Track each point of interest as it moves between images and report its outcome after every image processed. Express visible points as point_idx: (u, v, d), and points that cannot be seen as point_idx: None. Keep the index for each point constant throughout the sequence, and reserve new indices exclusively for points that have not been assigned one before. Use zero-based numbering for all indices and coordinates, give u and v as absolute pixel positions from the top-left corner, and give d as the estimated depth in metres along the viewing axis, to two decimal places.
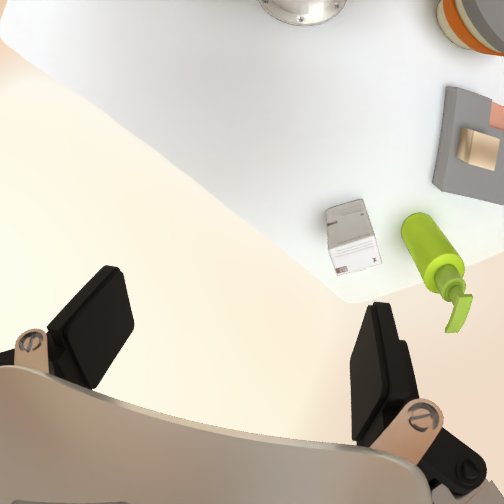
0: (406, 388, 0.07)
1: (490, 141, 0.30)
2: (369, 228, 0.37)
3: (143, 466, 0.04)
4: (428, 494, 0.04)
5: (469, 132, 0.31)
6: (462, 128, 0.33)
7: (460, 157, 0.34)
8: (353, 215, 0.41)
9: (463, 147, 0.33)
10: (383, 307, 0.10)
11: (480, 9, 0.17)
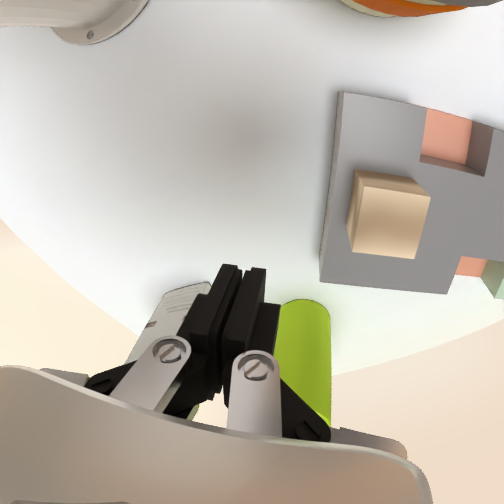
0: (243, 337, 0.08)
1: (406, 203, 0.18)
2: None
3: (143, 466, 0.04)
4: (428, 494, 0.04)
5: (360, 186, 0.19)
6: (355, 173, 0.21)
7: (348, 230, 0.22)
8: (175, 316, 0.29)
9: (352, 213, 0.21)
10: (257, 271, 0.11)
11: None
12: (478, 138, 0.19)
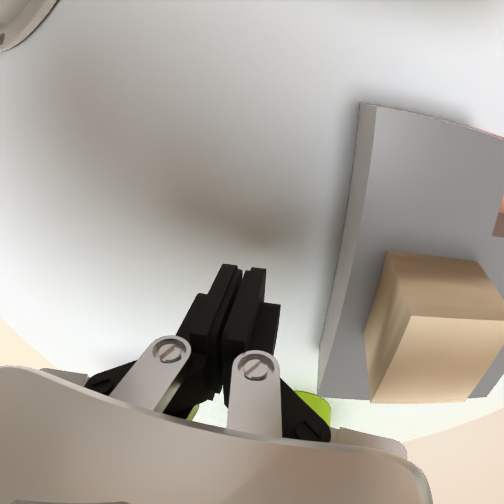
0: (243, 337, 0.08)
1: (478, 335, 0.08)
2: None
3: (143, 466, 0.04)
4: (428, 494, 0.04)
5: (400, 301, 0.09)
6: (388, 260, 0.11)
7: (367, 349, 0.13)
8: None
9: (377, 330, 0.12)
10: (257, 271, 0.11)
11: None
12: None
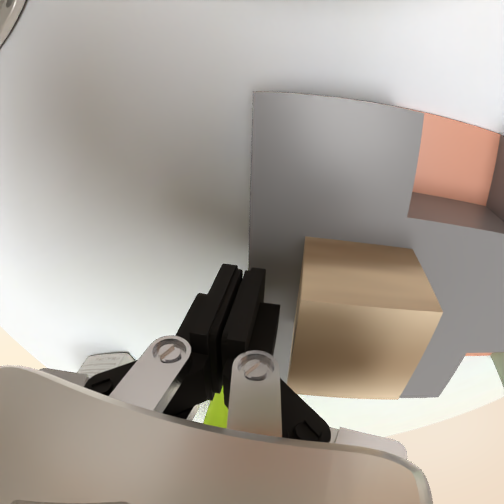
0: (242, 337, 0.08)
1: (392, 326, 0.09)
2: None
3: (143, 466, 0.04)
4: (428, 494, 0.04)
5: (301, 286, 0.10)
6: (304, 247, 0.12)
7: (292, 338, 0.13)
8: None
9: None
10: (256, 271, 0.11)
11: None
12: None
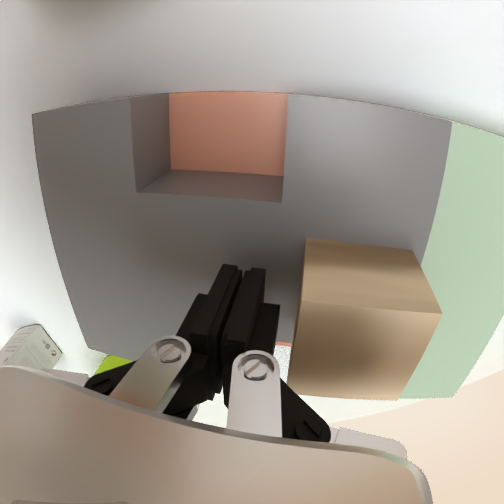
0: (242, 337, 0.08)
1: (392, 327, 0.09)
2: None
3: (143, 466, 0.04)
4: (428, 494, 0.04)
5: (302, 287, 0.10)
6: (305, 247, 0.12)
7: (292, 339, 0.13)
8: (3, 357, 0.22)
9: None
10: (256, 271, 0.11)
11: None
12: None
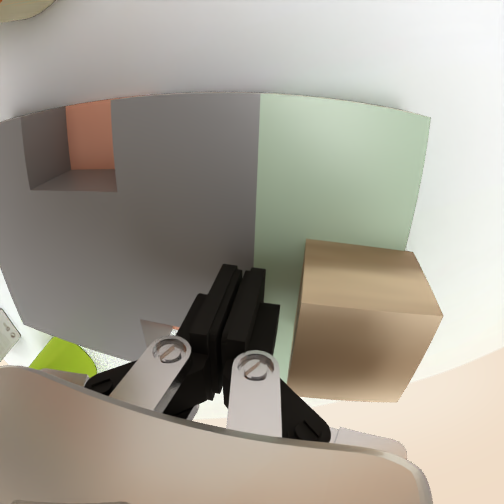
0: (242, 337, 0.08)
1: (392, 329, 0.09)
2: None
3: (143, 466, 0.04)
4: (428, 494, 0.04)
5: (301, 289, 0.10)
6: (305, 249, 0.12)
7: (292, 340, 0.13)
8: None
9: None
10: (256, 271, 0.11)
11: None
12: None
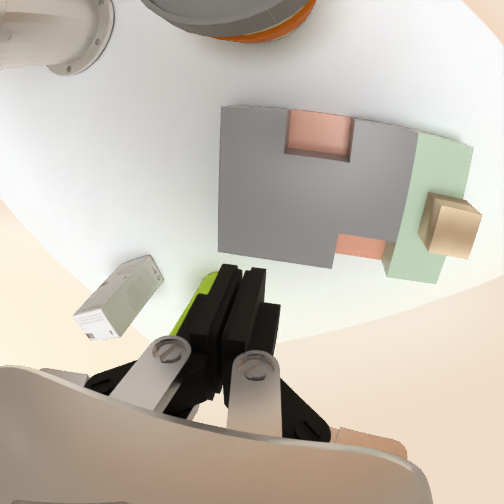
0: (243, 337, 0.08)
1: (466, 218, 0.23)
2: (108, 298, 0.33)
3: (143, 466, 0.04)
4: (428, 494, 0.04)
5: (436, 204, 0.24)
6: (428, 195, 0.26)
7: (421, 236, 0.27)
8: (120, 277, 0.37)
9: (426, 224, 0.26)
10: (257, 271, 0.11)
11: None
12: (351, 131, 0.27)
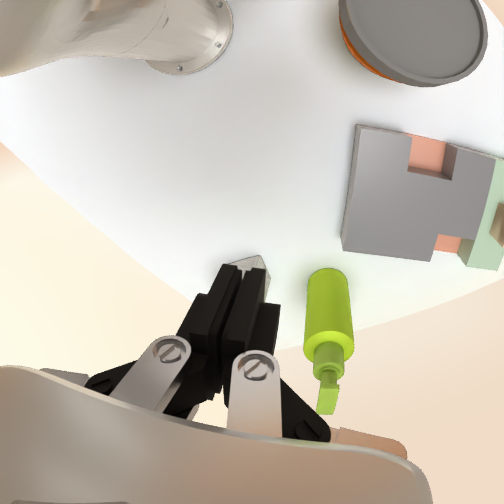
0: (243, 337, 0.08)
1: None
2: None
3: (143, 466, 0.04)
4: (428, 494, 0.04)
5: None
6: (499, 205, 0.30)
7: (493, 236, 0.32)
8: None
9: (498, 226, 0.31)
10: (257, 271, 0.11)
11: (357, 30, 0.18)
12: (449, 154, 0.32)
